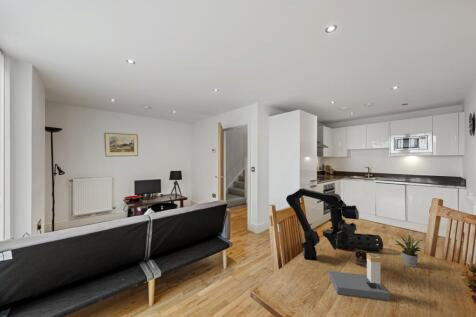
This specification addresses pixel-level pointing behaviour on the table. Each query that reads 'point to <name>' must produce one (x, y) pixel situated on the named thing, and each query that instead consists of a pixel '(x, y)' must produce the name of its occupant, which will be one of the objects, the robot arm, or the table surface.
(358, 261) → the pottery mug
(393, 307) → the table surface
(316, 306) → the table surface
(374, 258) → the plug
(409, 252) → the house plant
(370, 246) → the muzzle brake
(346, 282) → the socket block
